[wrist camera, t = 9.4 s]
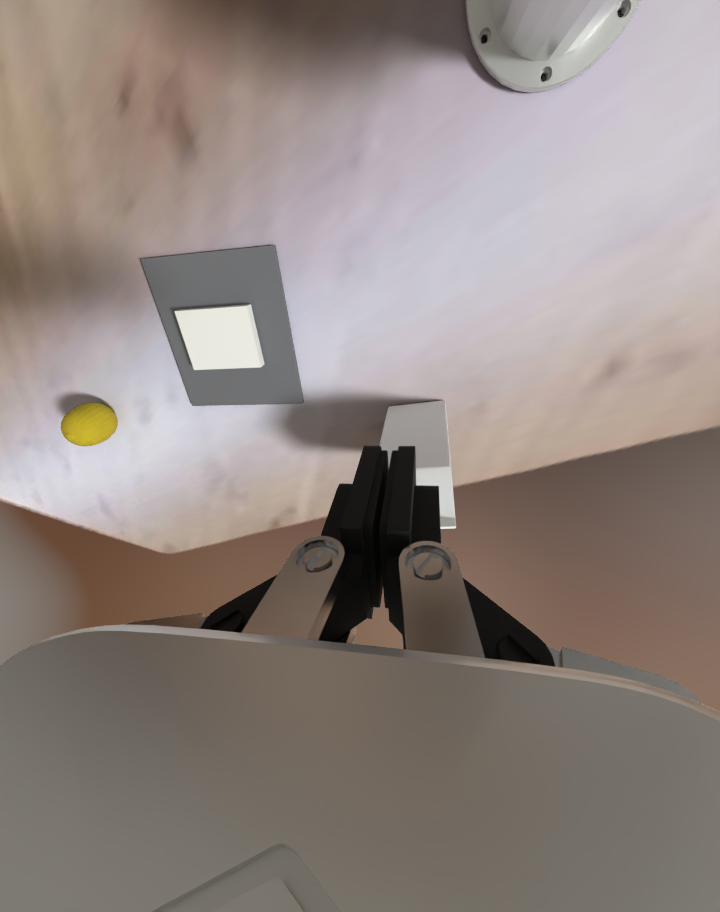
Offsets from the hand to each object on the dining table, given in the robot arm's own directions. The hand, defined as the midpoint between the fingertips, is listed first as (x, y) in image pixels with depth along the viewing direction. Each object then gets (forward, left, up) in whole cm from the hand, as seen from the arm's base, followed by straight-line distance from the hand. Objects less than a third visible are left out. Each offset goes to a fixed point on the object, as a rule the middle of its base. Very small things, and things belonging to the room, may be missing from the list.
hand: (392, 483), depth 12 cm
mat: (+2, -23, -33) cm, 40 cm away
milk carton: (+15, 0, -33) cm, 37 cm away
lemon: (+12, -45, -33) cm, 57 cm away
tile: (+2, -19, -32) cm, 37 cm away
